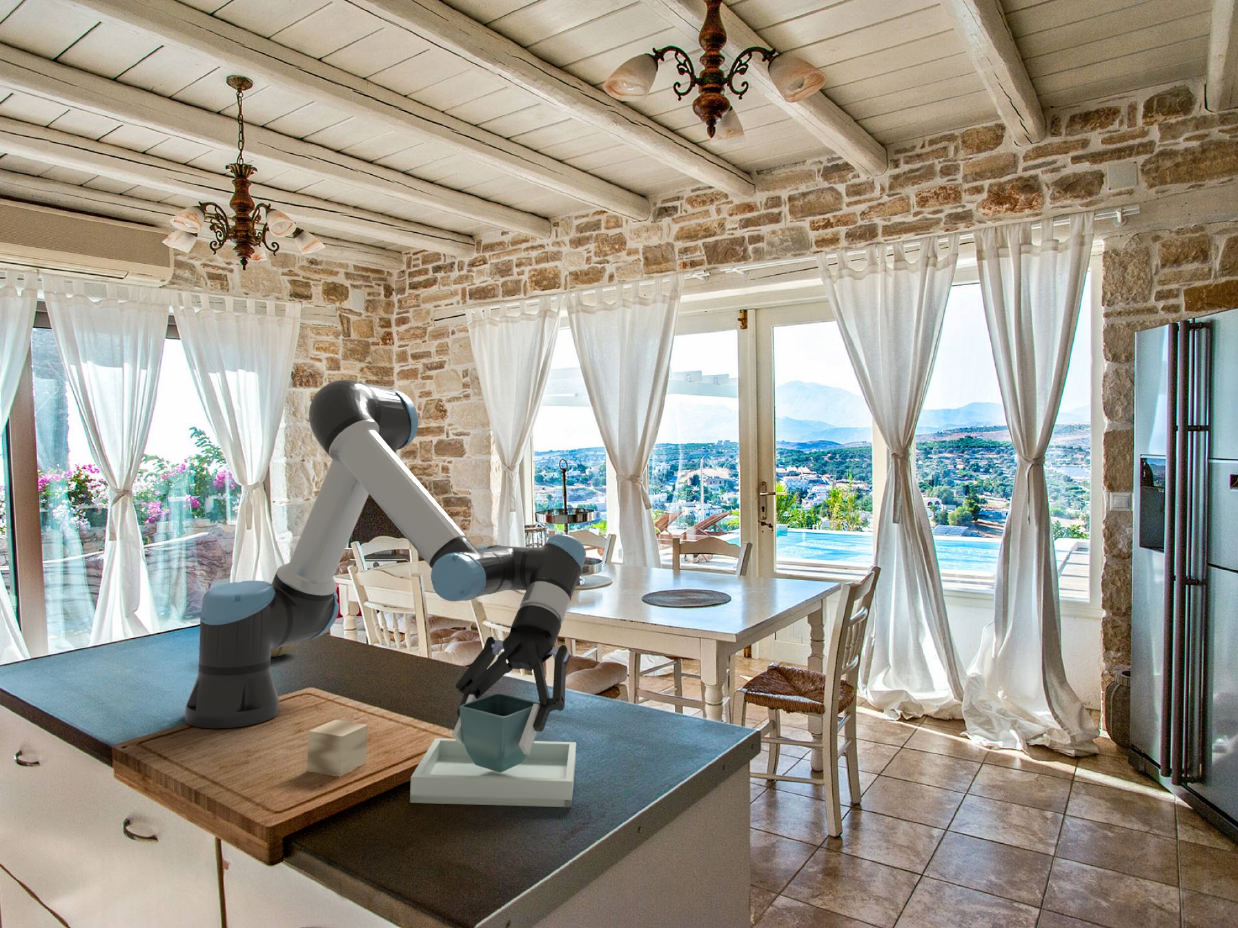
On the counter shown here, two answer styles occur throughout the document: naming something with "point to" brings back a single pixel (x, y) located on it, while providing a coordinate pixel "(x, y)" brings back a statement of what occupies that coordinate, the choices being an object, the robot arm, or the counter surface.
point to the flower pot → (495, 730)
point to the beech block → (337, 747)
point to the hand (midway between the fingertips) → (490, 744)
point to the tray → (495, 777)
